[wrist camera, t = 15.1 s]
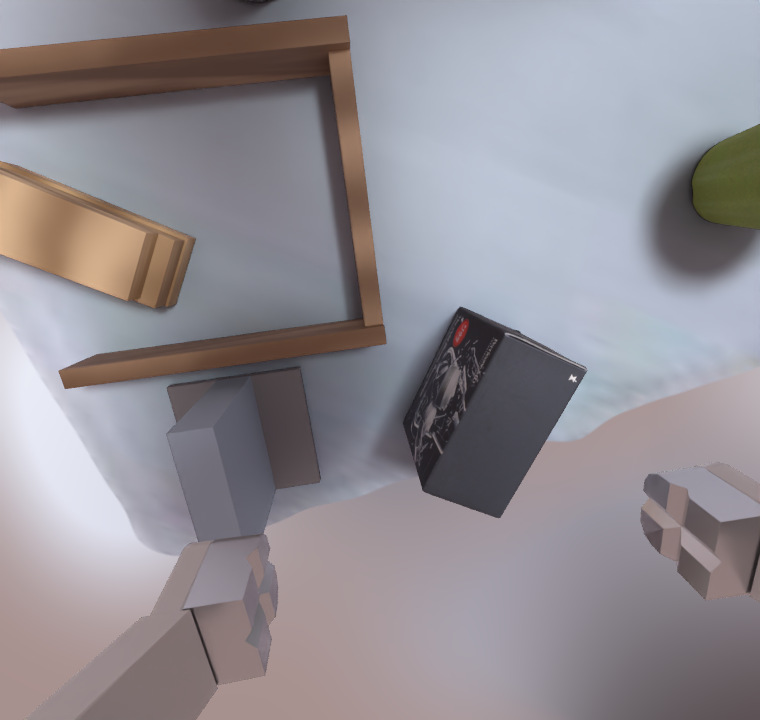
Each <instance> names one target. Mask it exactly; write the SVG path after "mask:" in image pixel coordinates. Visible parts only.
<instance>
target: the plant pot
mask: <svg viewBox="0 0 760 720" xmlns="http://www.w3.org/2000/svg"><path fill="white" fill-rule="evenodd" d="M692 188H693V205H694V207H695V209H696V211H697V212H698V213H699V215H700V216H701V217H703V218H704V219H706V220H707V221H710V222H713V223H718V224H725V225H732V226H739V227H746V228H754V229H760V124H759V125H756V126H754V127H752V128H750V129H747V130H745V131H743V132H741V133H738V134H736V135H734V136H732V137H729V138H727V139H725V140H723V141H721V142H719V143H718V144H716V145H715V146H714V147H713V148H711V149H710V150H709V151H708V152H707V153H706V154H705V155H704V156H703V158H702V159H701V161H700V162H699V164H698V166H697V168H696V170H695V173H694V175H693V179H692Z"/></svg>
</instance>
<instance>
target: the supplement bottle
mask: <svg viewBox="0 0 760 720" xmlns="http://www.w3.org/2000/svg"><path fill="white" fill-rule="evenodd" d="M244 1H249V2H262V1H266V0H244Z"/></svg>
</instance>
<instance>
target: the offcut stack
mask: <svg viewBox="0 0 760 720" xmlns="http://www.w3.org/2000/svg"><path fill="white" fill-rule="evenodd" d="M195 240H196V238H193V237H191V236H188V235H186V234H183V233H181V232H179V231H176V230H174V229H171V228H169V227H166V226H164V225H161V224H159V223H157V222H154V221H152V220H149V219H147V218H144V217H142V216H139V215H137V214H135V213H132V212H130V211H127V210H125V209H122V208H120V207H118V206H115V205H113V204H110V203H108V202H105V201H103V200H100V199H98V198H96V197H93V196H91V195H88V194H86V193H83V192H81V191H78V190H76V189H74V188H71V187H69V186H66V185H64V184H61V183H59V182H56V181H54V180H52V179H49V178H47V177H44V176H42V175H39V174H37V173H35V172H32V171H30V170H27V169H25V168H22V167H20V166H17V165H13V164H10V163H6V162H2V161H0V254H1V255H4V256H7V257H9V258H12V259H15V260H18V261H20V262H23V263H26V264H28V265H31V266H34V267H36V268H39V269H42V270H45V271H47V272H50V273H53V274H55V275H58V276H61V277H63V278H66V279H69V280H72V281H74V282H77V283H80V284H82V285H85V286H88V287H90V288H93V289H96V290H99V291H101V292H104V293H107V294H109V295H112V296H115V297H117V298H120V299H123V300H126V301H130V300H133V301H136V302H139V303H142V304H144V305H147V306H150V307H152V308H158V307H161V306H166V307H169V306H172V305H175V304H176V303H177V300H178V296H179V293H180V290H181V286H182V283H183V280H184V277H185V273H186V270H187V267H188V263H189V260H190V257H191V253H192V250H193V247H194V244H195Z"/></svg>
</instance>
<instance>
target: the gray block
mask: <svg viewBox="0 0 760 720" xmlns="http://www.w3.org/2000/svg"><path fill="white" fill-rule="evenodd" d="M166 435H167V438H168V442H169V445H170V448H171V452H172V455H173V458H174V462H175V465H176V468H177V472H178V475H179V479H180V482H181V485H182V489H183V492H184V495H185V499H186V502H187V505H188V509H189V512H190V515H191V519H192V522H193V525H194V529H195V532H196V535H197V539H198V542H204V541H211V540H216V539H223V538H231V537H239V536H246V535H254V534H262V533H264V529H265V526H266V522H267V519H268V515H269V512H270V508H271V505H272V501H273V497H274V494H275V490H276V487H275V483H274V478H273V474H272V469H271V465H270V461H269V456H268V452H267V447H266V443H265V438H264V434H263V429H262V425H261V420H260V416H259V412H258V407H257V403H256V398H255V394H254V389H253V385H252V380H251V376H245V377H238V378H231V379H224V380H217V381H216V382H215V383H214V385H213V386H212V387H211V388H210V389H209V390H208V391H207V392H206V393H205V394H204V395H203V396H202V397H201V398H200V399H199V400H198V401H197V402H196V403H195V404H194V406H193V407H192V408H191V409H190V410H189V411H188V412H187V413H186V414H185V415H184V416H183V417H182V418H181V419H180V420H179V421H178V422H177V423H176V424H175V425H174V426H173V428H172V429H171V430H170V431H169V432H168V433H167V434H166Z"/></svg>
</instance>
